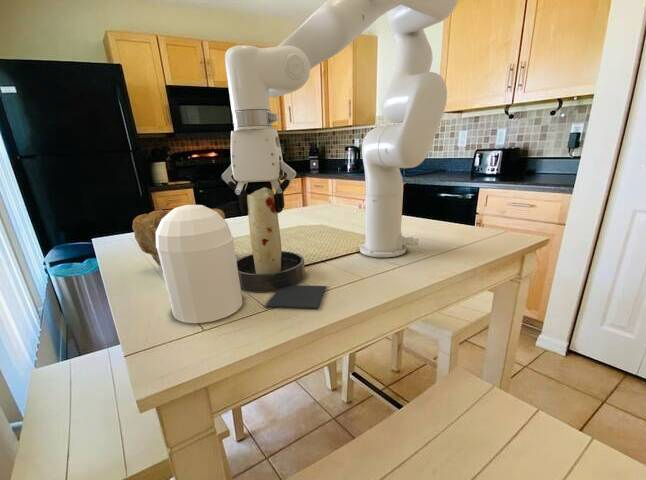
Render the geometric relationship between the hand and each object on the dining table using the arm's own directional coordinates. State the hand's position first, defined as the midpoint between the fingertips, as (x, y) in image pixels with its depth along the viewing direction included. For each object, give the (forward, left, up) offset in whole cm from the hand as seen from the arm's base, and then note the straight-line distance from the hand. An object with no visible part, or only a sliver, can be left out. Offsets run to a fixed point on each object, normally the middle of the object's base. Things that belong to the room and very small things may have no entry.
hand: (262, 211), depth 73 cm
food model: (0, 0, -15) cm, 15 cm away
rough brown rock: (+24, -5, -16) cm, 29 cm away
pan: (0, 0, -16) cm, 16 cm away
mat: (-9, +10, -16) cm, 21 cm away
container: (+8, +15, -16) cm, 23 cm away
